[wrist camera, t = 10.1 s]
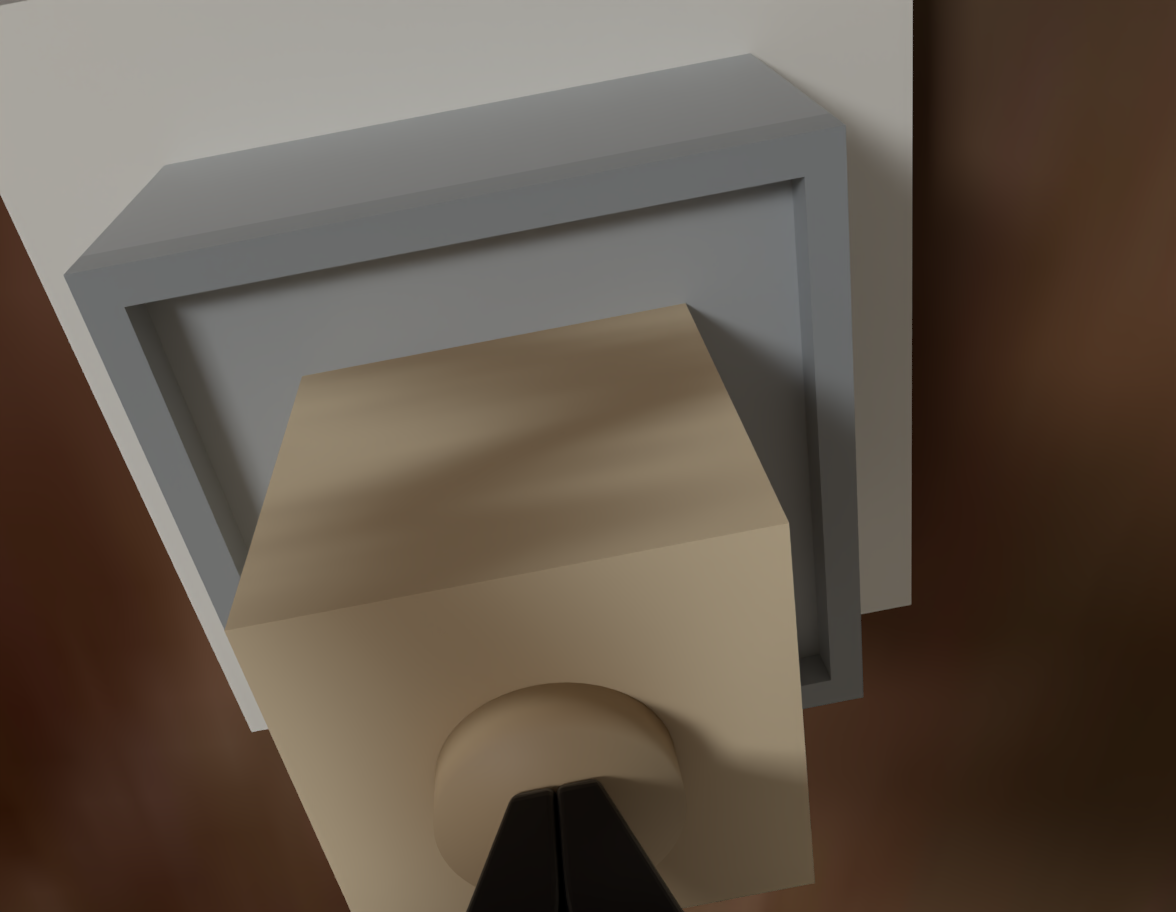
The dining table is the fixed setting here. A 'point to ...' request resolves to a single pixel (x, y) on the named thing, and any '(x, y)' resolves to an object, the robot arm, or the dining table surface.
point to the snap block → (530, 612)
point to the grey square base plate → (477, 235)
